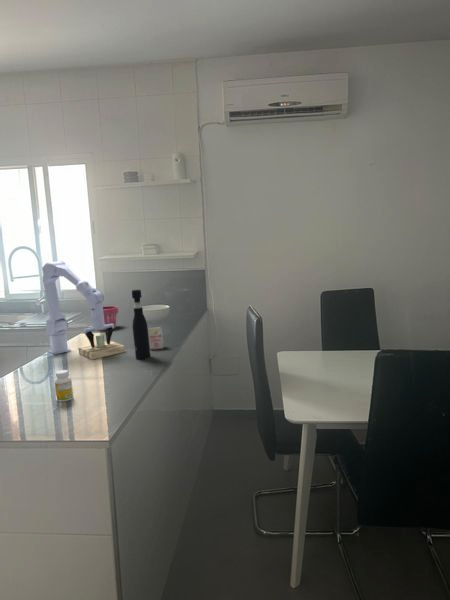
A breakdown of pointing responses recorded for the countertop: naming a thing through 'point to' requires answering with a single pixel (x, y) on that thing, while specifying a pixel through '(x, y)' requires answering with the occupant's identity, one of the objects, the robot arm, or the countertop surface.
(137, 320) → the wine bottle
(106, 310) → the plant pot
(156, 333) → the white pink printed box
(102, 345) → the pin
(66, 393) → the supplement bottle
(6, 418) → the countertop surface
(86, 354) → the pocket block
